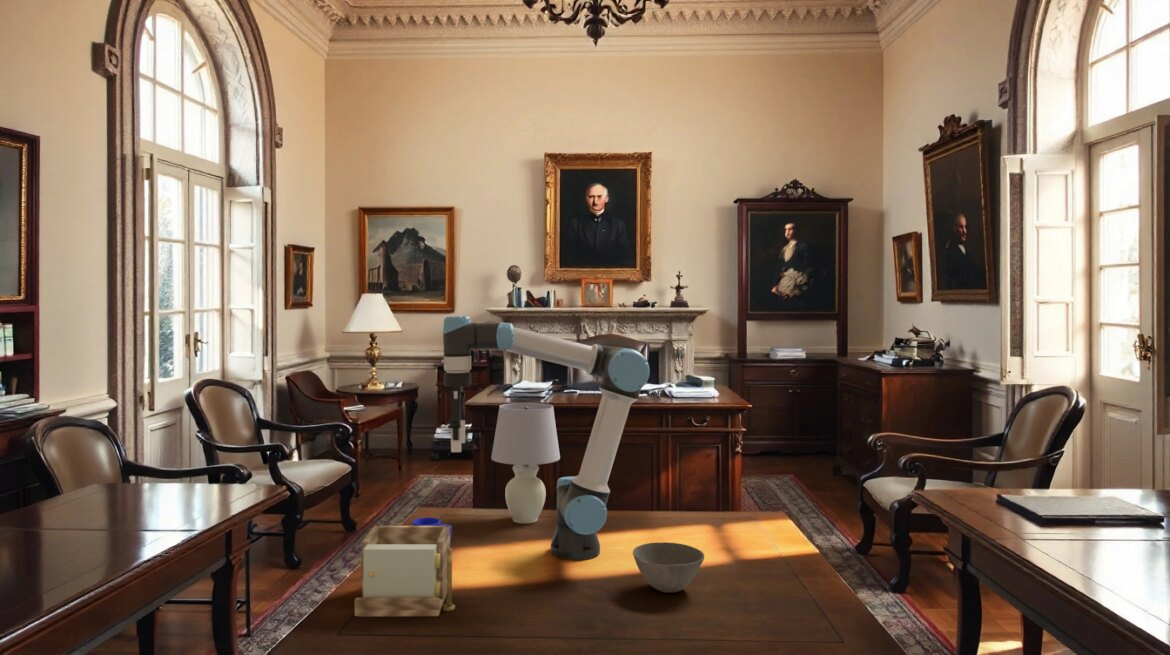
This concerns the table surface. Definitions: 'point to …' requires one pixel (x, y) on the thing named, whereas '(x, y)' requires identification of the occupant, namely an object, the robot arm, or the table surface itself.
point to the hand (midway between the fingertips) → (458, 447)
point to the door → (400, 570)
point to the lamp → (525, 454)
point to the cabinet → (411, 604)
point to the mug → (430, 523)
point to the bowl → (668, 564)
